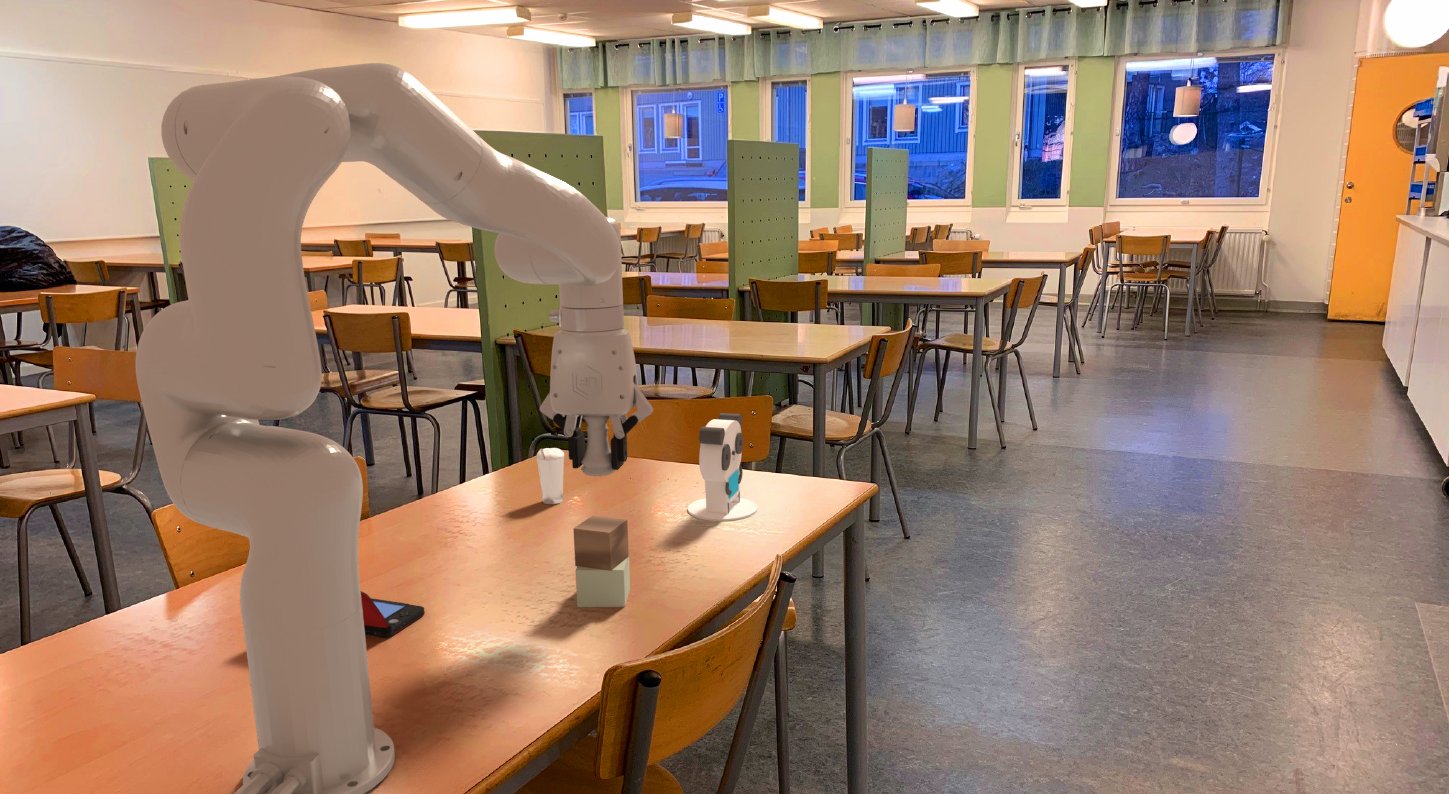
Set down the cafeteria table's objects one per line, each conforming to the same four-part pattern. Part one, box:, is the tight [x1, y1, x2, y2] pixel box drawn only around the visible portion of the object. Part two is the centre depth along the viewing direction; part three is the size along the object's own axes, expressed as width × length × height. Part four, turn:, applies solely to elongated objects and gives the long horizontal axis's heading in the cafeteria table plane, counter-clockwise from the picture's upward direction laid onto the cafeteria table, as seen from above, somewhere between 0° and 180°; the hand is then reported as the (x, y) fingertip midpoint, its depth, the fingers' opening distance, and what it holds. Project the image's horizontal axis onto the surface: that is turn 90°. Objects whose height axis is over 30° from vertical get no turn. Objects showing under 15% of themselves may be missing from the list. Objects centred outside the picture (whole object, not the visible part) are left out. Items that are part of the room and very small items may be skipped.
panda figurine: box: [687, 412, 759, 522], centre depth 156 cm, size 12×11×15 cm
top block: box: [572, 515, 630, 571], centre depth 123 cm, size 5×5×5 cm
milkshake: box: [536, 447, 565, 505], centre depth 162 cm, size 4×5×10 cm
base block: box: [575, 556, 631, 608], centre depth 124 cm, size 6×6×5 cm
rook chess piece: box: [580, 415, 616, 477], centre depth 120 cm, size 4×4×8 cm
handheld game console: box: [360, 590, 426, 639], centre depth 117 cm, size 12×11×7 cm
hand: (598, 464), depth 121 cm, fingers closed on rook chess piece, 4 cm apart
